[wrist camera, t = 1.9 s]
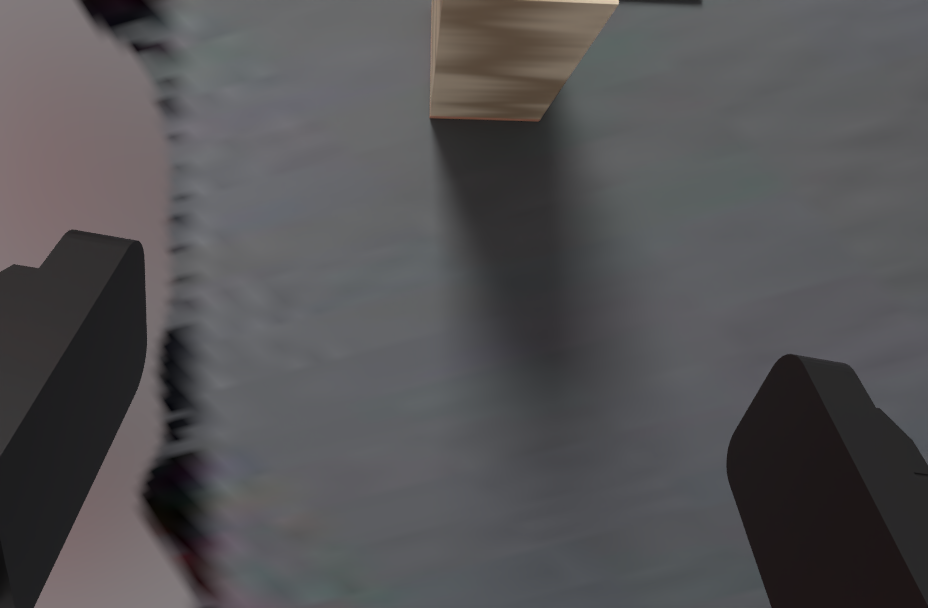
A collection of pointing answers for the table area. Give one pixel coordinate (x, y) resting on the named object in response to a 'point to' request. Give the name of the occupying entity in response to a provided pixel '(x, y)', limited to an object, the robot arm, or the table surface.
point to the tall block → (507, 54)
